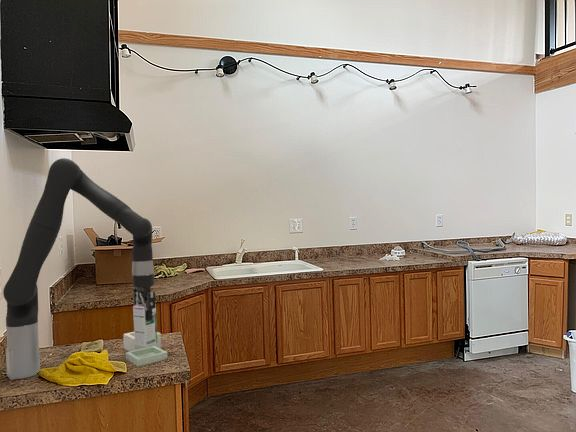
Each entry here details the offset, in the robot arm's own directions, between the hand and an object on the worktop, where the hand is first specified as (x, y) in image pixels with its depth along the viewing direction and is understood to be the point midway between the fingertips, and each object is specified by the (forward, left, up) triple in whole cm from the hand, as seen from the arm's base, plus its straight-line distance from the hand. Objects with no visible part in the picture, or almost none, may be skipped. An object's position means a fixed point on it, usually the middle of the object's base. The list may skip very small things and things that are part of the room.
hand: (144, 318), depth 162 cm
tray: (0, 0, -15) cm, 15 cm away
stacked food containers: (+4, +13, -15) cm, 20 cm away
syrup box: (0, 0, -10) cm, 10 cm away
